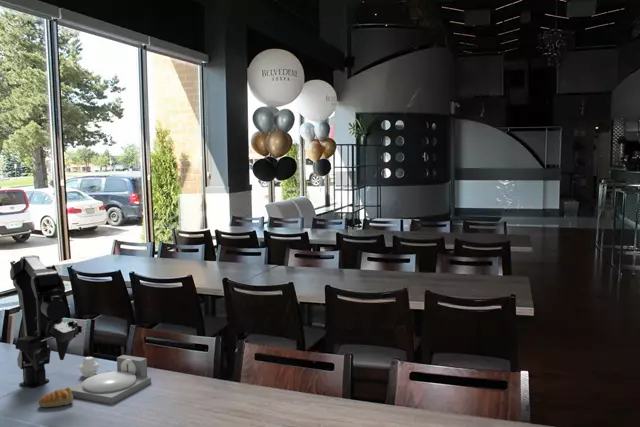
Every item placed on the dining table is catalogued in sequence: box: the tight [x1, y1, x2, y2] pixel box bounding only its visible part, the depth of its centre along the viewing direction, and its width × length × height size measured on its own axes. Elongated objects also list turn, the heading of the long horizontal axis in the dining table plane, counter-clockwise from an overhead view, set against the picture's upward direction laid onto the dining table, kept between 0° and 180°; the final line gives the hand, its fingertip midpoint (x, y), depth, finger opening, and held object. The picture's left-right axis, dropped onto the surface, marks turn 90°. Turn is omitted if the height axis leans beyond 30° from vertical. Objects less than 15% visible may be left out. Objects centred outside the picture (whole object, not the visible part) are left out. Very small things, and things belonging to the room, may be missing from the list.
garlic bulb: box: [79, 356, 100, 378], centre depth 193 cm, size 6×6×7 cm
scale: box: [69, 354, 152, 405], centre depth 183 cm, size 18×21×7 cm
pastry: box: [38, 387, 74, 408], centre depth 170 cm, size 9×7×4 cm
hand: (49, 364), depth 170 cm, fingers open, 9 cm apart
